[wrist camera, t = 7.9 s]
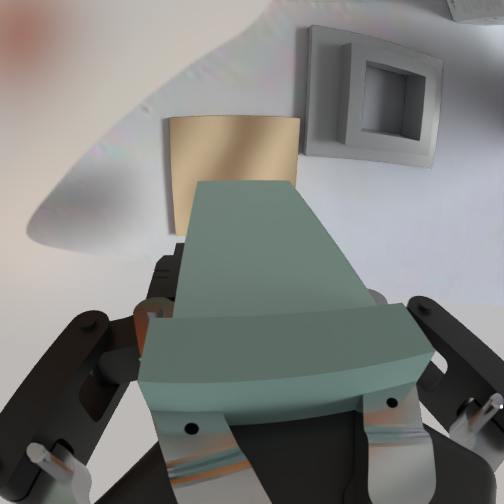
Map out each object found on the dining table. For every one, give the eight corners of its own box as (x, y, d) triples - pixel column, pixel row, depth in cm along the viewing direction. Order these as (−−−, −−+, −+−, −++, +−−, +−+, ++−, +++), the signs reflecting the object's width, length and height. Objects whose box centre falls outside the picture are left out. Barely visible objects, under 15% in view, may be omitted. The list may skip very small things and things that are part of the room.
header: (436, 60, 20) (456, 60, 17) (426, 166, 25) (444, 175, 22) (308, 27, 18) (320, 19, 16) (302, 153, 24) (313, 161, 21)
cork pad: (298, 117, 22) (300, 118, 22) (289, 230, 27) (291, 233, 26) (170, 117, 21) (169, 118, 20) (176, 233, 26) (176, 236, 25)
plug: (296, 174, 15) (435, 351, 5) (288, 263, 17) (357, 458, 7) (190, 174, 14) (137, 381, 4) (195, 266, 17) (185, 478, 7)
